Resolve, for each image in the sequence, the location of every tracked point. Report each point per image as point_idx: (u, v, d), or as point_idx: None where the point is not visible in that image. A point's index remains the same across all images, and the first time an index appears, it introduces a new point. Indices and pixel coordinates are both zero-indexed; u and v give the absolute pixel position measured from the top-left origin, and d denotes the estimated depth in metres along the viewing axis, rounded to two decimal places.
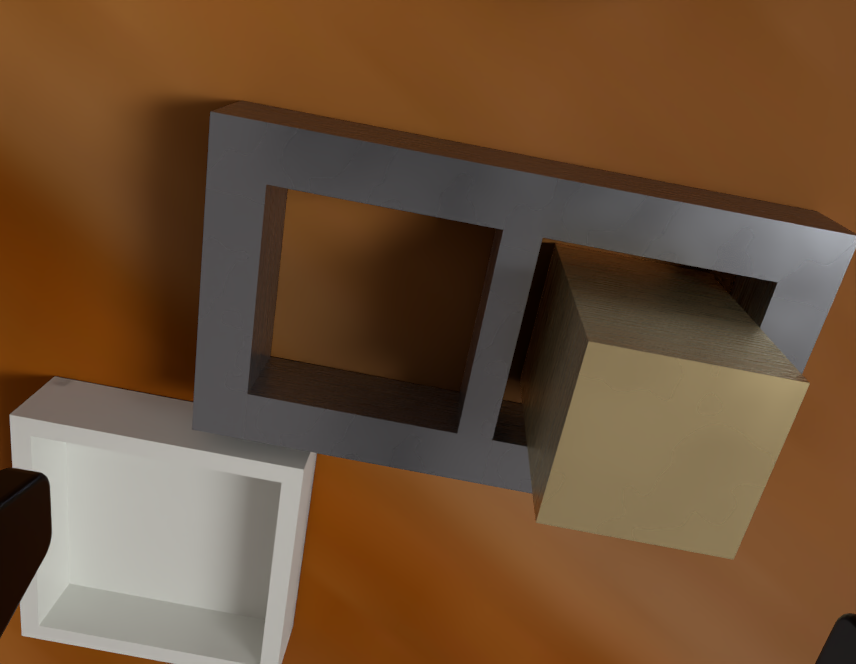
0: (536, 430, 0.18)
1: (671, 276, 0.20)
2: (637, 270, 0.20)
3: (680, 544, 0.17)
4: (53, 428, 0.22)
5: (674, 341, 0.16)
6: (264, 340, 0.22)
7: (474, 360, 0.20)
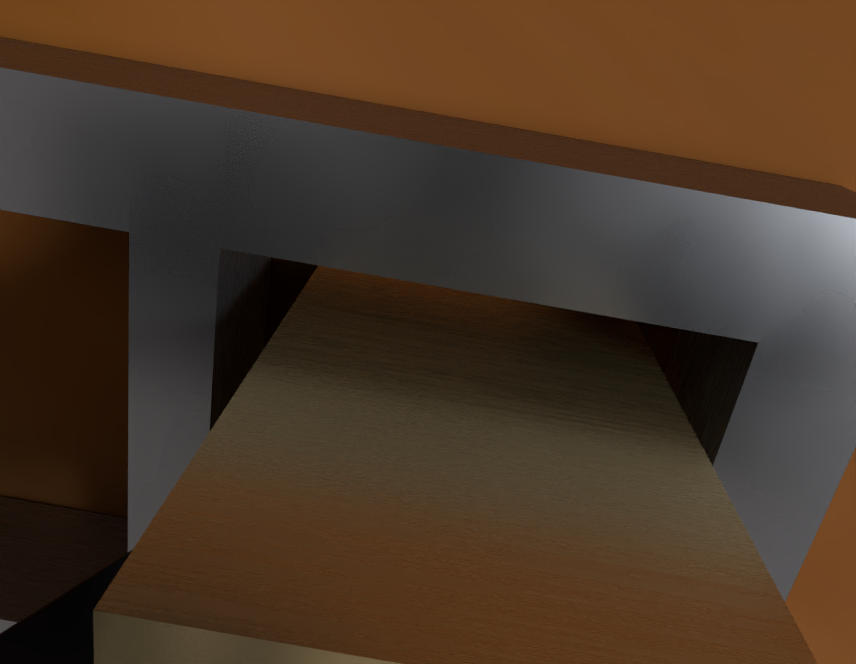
0: None
1: (541, 324, 0.10)
2: (469, 313, 0.10)
3: None
4: None
5: (435, 566, 0.05)
6: None
7: (129, 506, 0.10)
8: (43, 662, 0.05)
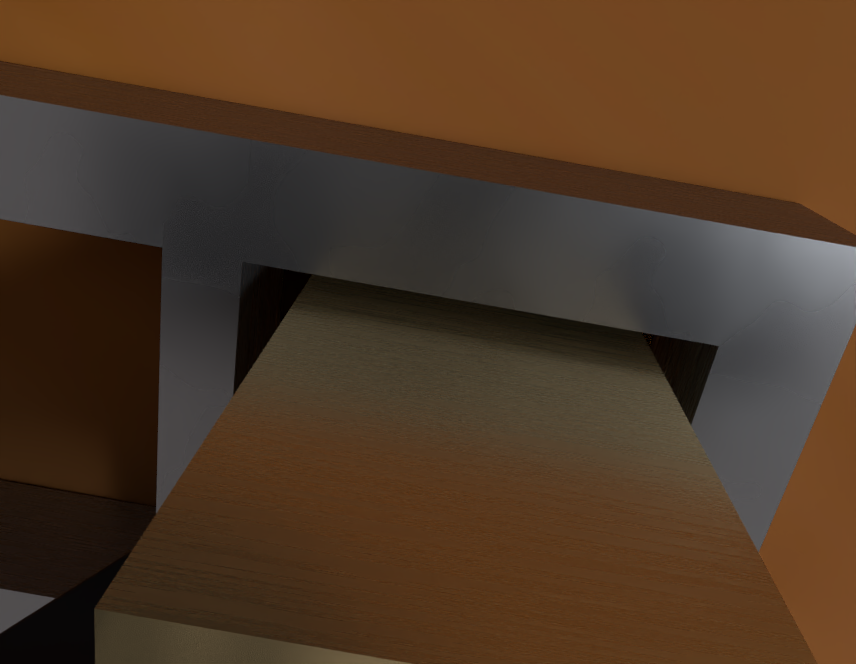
0: None
1: (541, 324, 0.10)
2: (469, 313, 0.10)
3: None
4: None
5: (435, 566, 0.05)
6: None
7: (158, 491, 0.11)
8: (43, 663, 0.05)
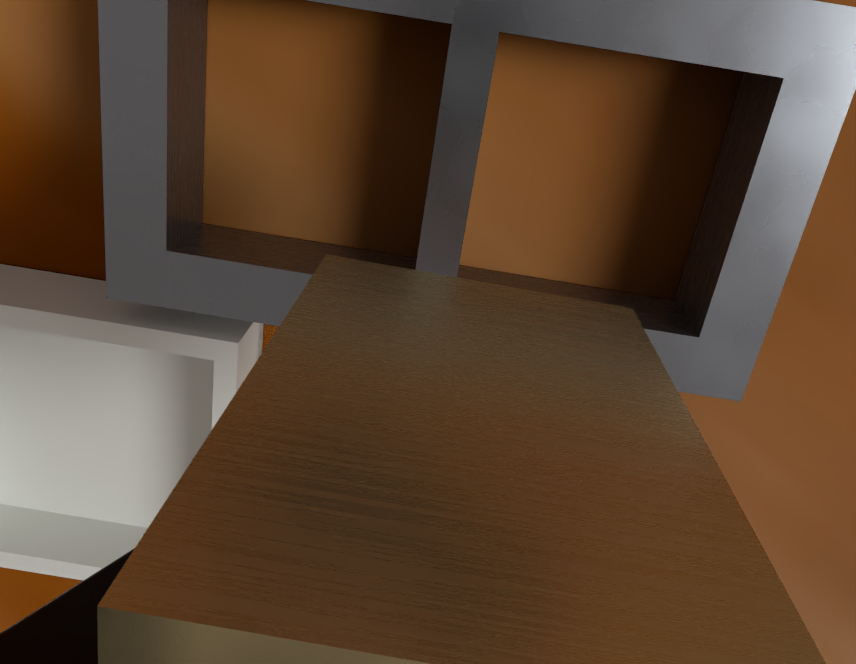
0: None
1: (544, 322, 0.10)
2: (471, 311, 0.10)
3: None
4: None
5: (439, 563, 0.05)
6: (188, 195, 0.19)
7: (427, 196, 0.17)
8: (43, 662, 0.05)
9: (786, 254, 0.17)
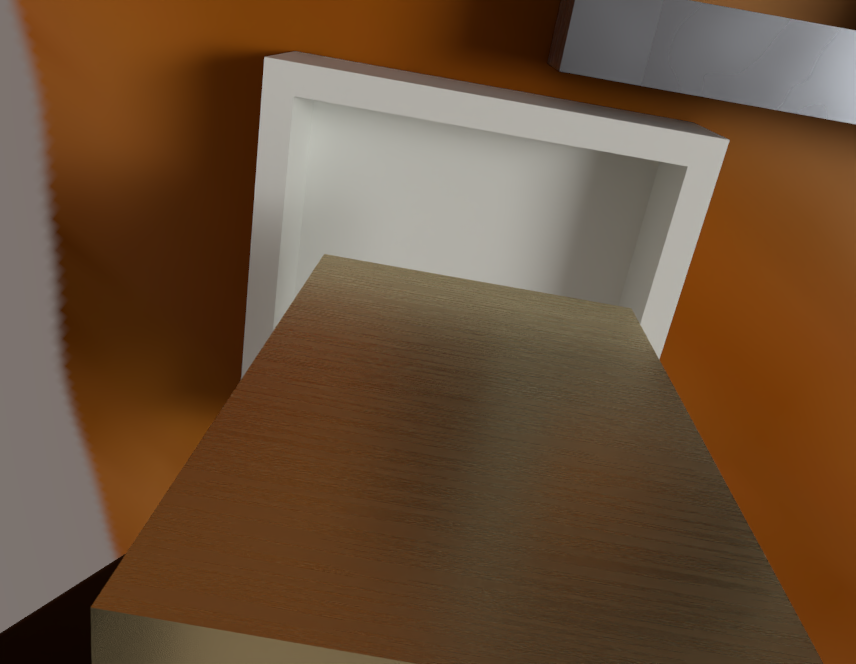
0: None
1: (542, 322, 0.10)
2: (470, 311, 0.10)
3: None
4: (332, 80, 0.14)
5: (436, 562, 0.05)
6: None
7: None
8: (43, 663, 0.05)
9: None
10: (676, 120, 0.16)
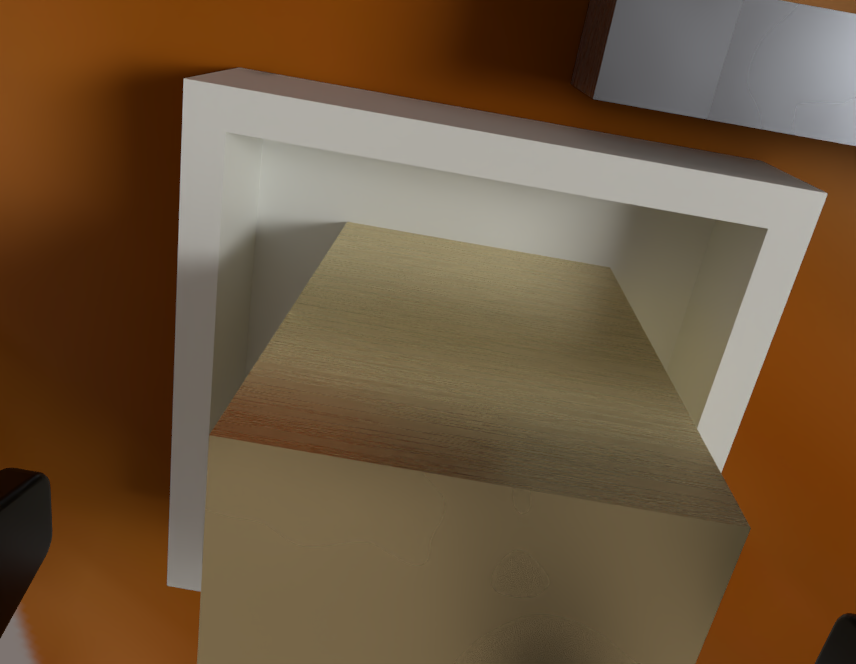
0: None
1: (533, 275, 0.11)
2: (472, 266, 0.11)
3: None
4: (278, 110, 0.10)
5: (448, 422, 0.07)
6: None
7: None
8: None
9: None
10: (741, 159, 0.12)
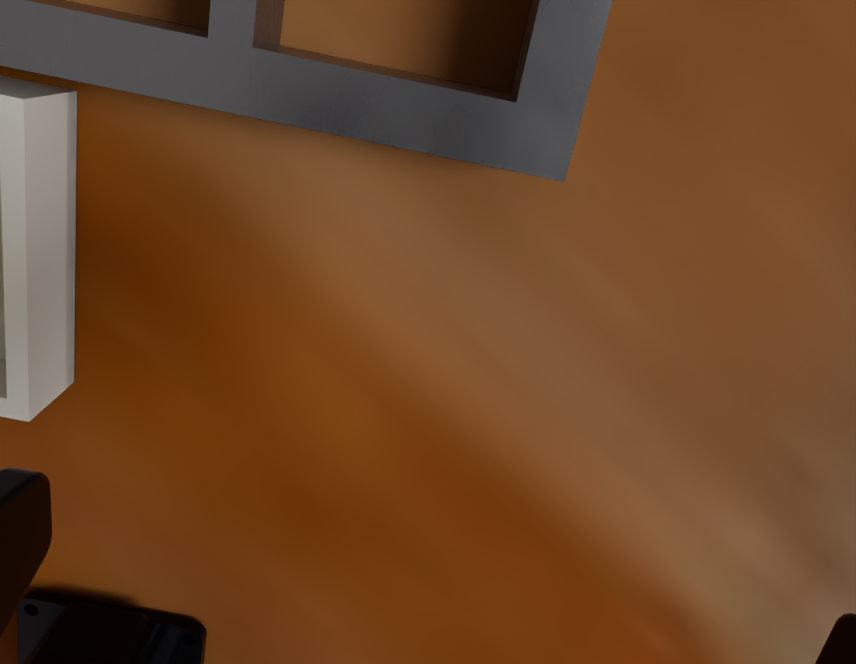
0: None
1: None
2: None
3: None
4: None
5: None
6: None
7: None
8: None
9: (602, 2, 0.16)
10: (54, 88, 0.19)
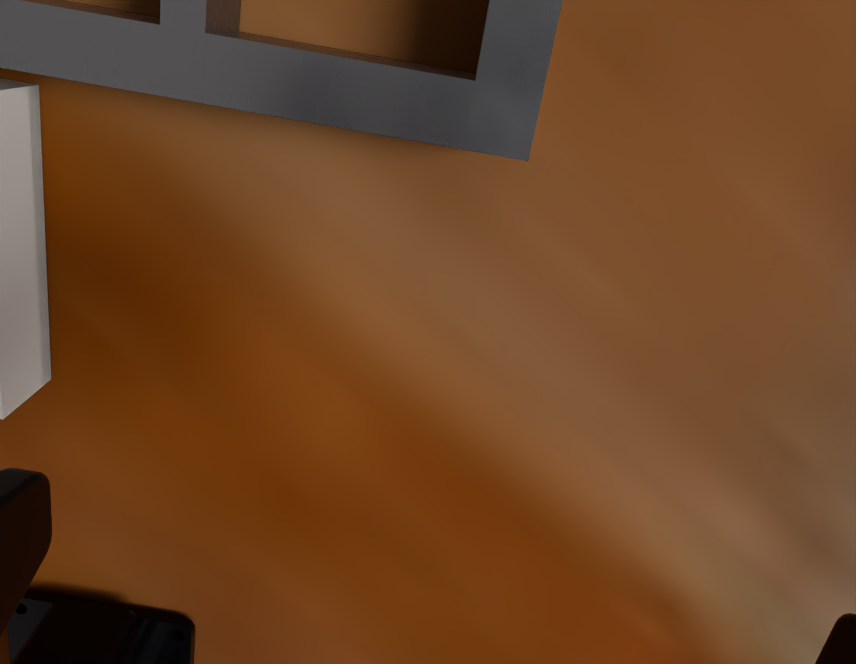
0: None
1: None
2: None
3: None
4: None
5: None
6: None
7: None
8: None
9: None
10: (15, 82, 0.19)
